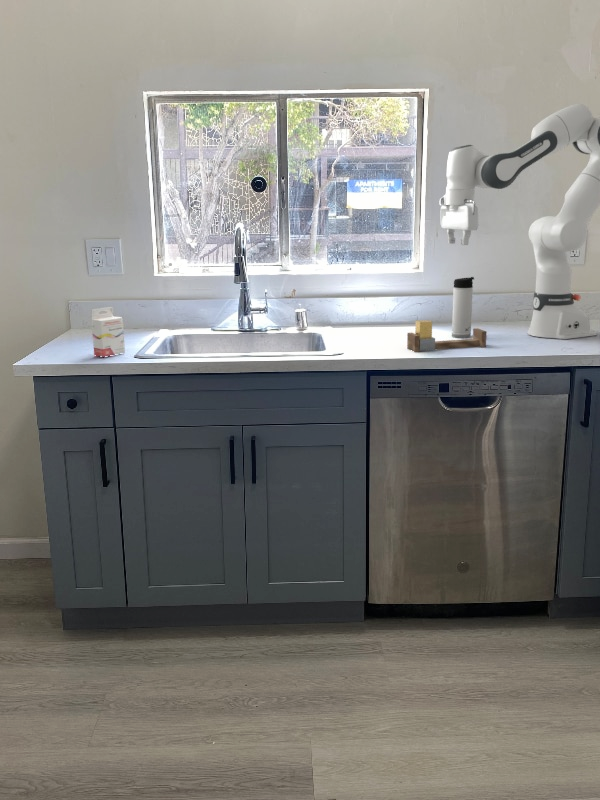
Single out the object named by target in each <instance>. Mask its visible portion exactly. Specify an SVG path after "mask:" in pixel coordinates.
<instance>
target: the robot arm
mask: <svg viewBox="0 0 600 800" xmlns="http://www.w3.org/2000/svg"><path fill="white" fill-rule="evenodd" d="M571 144H572V146H573V147H574V149H575V150H576V151H577V152H579V153H581V154H583V155H589V160H588V163H587V165H586V167H584V169H583V170H582V171H581V172H580V174H579V175H578V176H577V178H576V179H575V180H574V182H573V183H572V184H571V186H570V187H569V189H568V190H567V191H566V193H565V194H564V201H563V205H562V207H561V208H560V211H559V213H557V215H547V216H546V215H545V216H543V217H540V218H537V219H535V221H533V222H532V223H531V225H530V226H529V229H528V238H529V241H530V242H531V245H532V249H533V255H534V259H535V260H534V261H535V267H536V270H535V271H536V272H535V273H536V274H535V275H536V277H535V291H534V293H533V299H532V305H533V306H532V307H533V312H532V317H531V322H530V325H529V328H528V331H527V334H528V335H529V336H533V337H538V338H549V339H559V340H567V339H568V340H569V339H577V338H578V339H579V338H585V337H592V336H597V335H598V333H597V331H596V330H593V329H591V322H590V321H591V320H590V317H589V316H588V314H587V313H585V312H584V311H583V310H582V309H581V308H580V307H578V305H576V304H575V302H574V301H577V302H578V301H580V300H581V298H582V296H581V295H580V294H577V293H575V294H573V293H571V284H572V273H573V272H572V271H573V270H572V266H571V265H570V263H569V260H568V256H567V253H568V252H573V251H575V250H578V249H580V248H581V247H582V246H584V245H585V244H586V241H587V239H588V234H589V233H588V227H589V225H590V222H591V220H592V218H593V216H594V214H595V213H596V211H597V209H598V208H599V207H600V116H599V117H596V118H595V117H593V113H592V111H591V110H590V108H589V107H588V106H587V105H585V104H583V103H574V104H571V105H569V106H566V107H564V108H561V109H559V110H557V111H554V112H553V113H552V114H550V115H548V116H547V117H545V118H543V119H542V120H541V121H539V122H538V123H537V124H535V126H534V127H532V131H531V133H530V140H529V141H528V142H526V143H524V144H523V145H521V146H520V147H518V148H516V149H514V150H513V151H511V152H507V153H506V152H505V153H504V152H503V153H498V154H494V155H489V154H487V153H484V152H482V151H480V150H479V149H478V148H476V147H475V146H474V145H473V144H466V145H462V146H456V147H453V148H452V149H450V150H449V152H448V157H447V162H446V172H445V173H446V174H445V175H446V180H447V182H446V187H445V194H444V195H443V196H442V197H441V198H439V206H440V210H439V211H440V213H439V217H440V219H439V223H440V227H441V229H443V230H444V229H445V230H446V234H447V238H448V241H447V242H448V244H451V245H452V244H453V245H455V244H456V237H455V231H456V230H457V231H458V230H459V231H462V234H463V235H462V238H461V239H460V240H461V242H460V244H461V246H468V245H469V240H470V237H471V235H472V231H477V230H478V228H479V211H478V210H479V209H478V206H477V205H476V203H475V188H476V187H477V188H481V189H497V190H501V189H506V188H508V187H509V186H511V185H512V183H514V181H516V179H517V177H518V176H519V175H520V174H521V173H522V172H523V171H524V170H525V169H527V168H528V167H531V165H533V164H535V163H536V162H537V161H539V160H542V159H543V158H544V157H547V156H550V155H552V154H556V153H557V152H559V151H561V150H563V149H565V148H566V147H568V146H570V145H571Z"/></svg>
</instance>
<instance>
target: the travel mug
mask: <svg viewBox="0 0 600 800" xmlns="http://www.w3.org/2000/svg"><path fill="white" fill-rule="evenodd" d="M473 280H475V277H474V276H470V277H462V278H456V279H454V280H453V292H452V294H453V295H452V319H451V321H452V322H451V337H453V338H455V339H470V337H471V336H472V332H471V331H472V315H473V314H472V312H473V291H474V290H473V288H474V286H473V284H474V283H473Z"/></svg>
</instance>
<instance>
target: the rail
mask: <svg viewBox="0 0 600 800" xmlns="http://www.w3.org/2000/svg"><path fill="white" fill-rule="evenodd" d="M487 333H488V332H487V331H486V330H484V329H481V328H478V327H477V328H476V327H475V328H474V327H473V329H472V338H461V339H451V340H450V339H449V340H437V341H436V340H435V349H437V350H447V349H448V350H449V349H463V348H476V347H480V348H486V346H487ZM406 336H407V342H406V344H407V345H406V347H407V348H406V349H407V350H409V351H411V350H412V352H413V351H414V352H413V353H419V352H420V351H419V337H420V336H419V335H417V334H415V332H407V335H406Z"/></svg>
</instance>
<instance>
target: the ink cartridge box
mask: <svg viewBox="0 0 600 800" xmlns="http://www.w3.org/2000/svg"><path fill="white" fill-rule="evenodd" d="M101 312H105V313H101ZM90 314H91V321H90V322H91V332H92V334H91V335H92V345H93V356H94V355H96V356H102V357H105V356H110V355H115V354H120V353H125V354H126V352H125V351H126V348H125V331H124V322H123V321H124V318H123V317H122V316H114V307H113V306H110V307H107V306H106V307H101V308H100V307H99V308H94V309H93V308H92V309H91V313H90ZM96 356H95V357H96Z"/></svg>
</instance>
